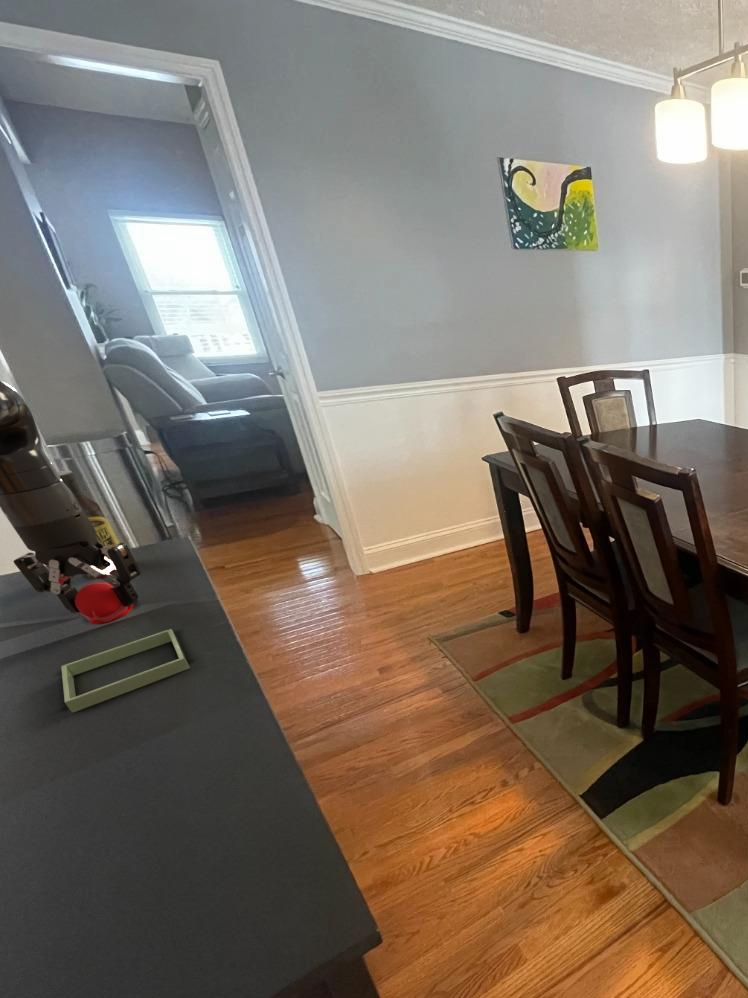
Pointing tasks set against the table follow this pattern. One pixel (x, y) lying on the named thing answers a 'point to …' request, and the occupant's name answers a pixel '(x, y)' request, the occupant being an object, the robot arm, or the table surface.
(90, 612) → the cap
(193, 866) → the table surface
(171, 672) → the frame
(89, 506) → the sauce bottle
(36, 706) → the table surface
